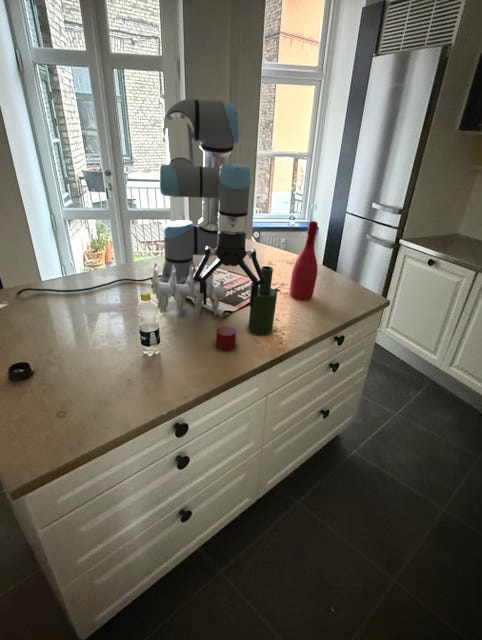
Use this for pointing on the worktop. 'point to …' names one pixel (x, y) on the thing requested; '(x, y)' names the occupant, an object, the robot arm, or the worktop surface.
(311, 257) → the wine bottle
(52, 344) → the worktop surface
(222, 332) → the cap
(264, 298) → the oil bottle
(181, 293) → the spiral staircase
